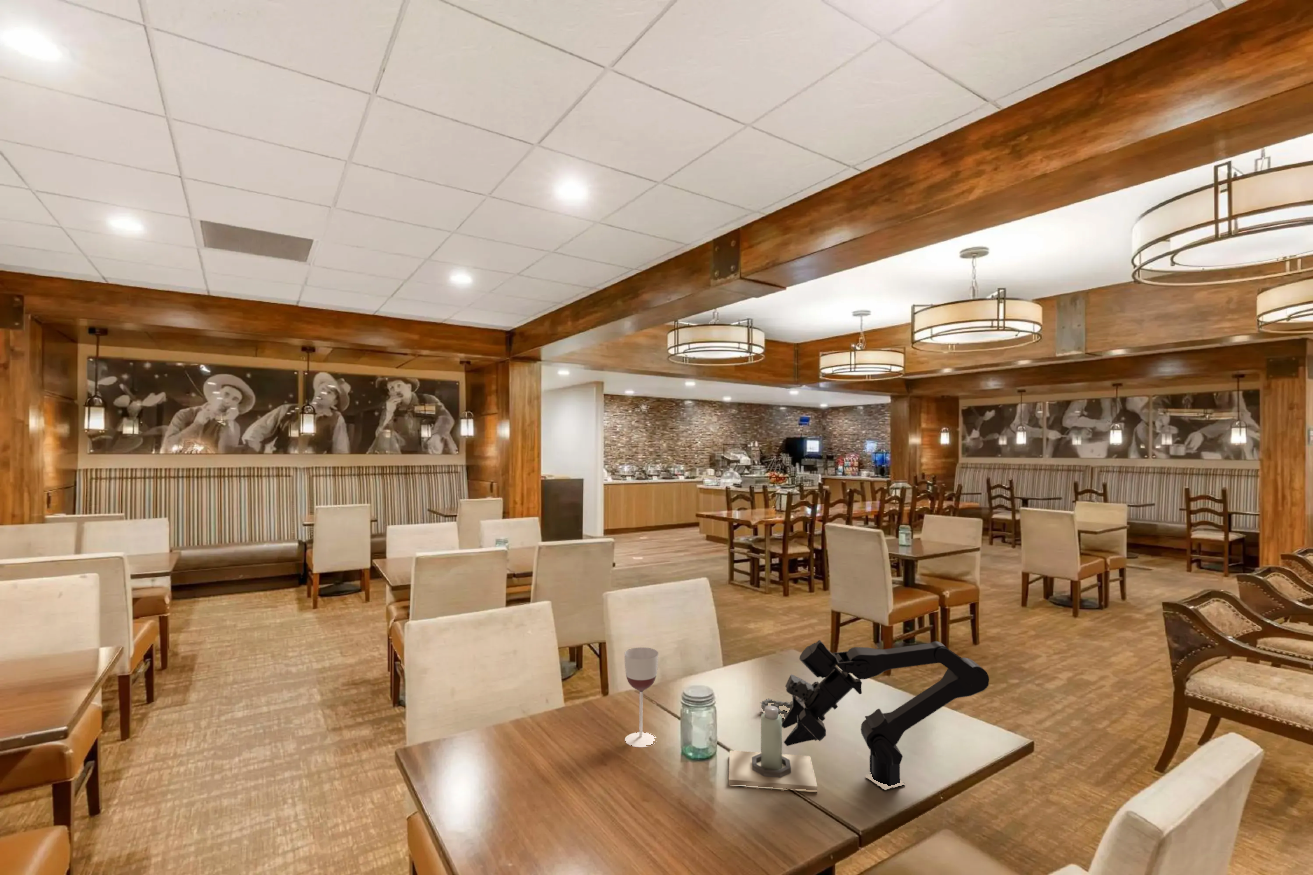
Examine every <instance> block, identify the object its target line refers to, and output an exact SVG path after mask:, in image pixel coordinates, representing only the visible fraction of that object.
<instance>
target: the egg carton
mask: <svg viewBox="0 0 1313 875" xmlns="http://www.w3.org/2000/svg"><path fill="white" fill-rule="evenodd" d="M759 703H760V704H761V705H760V706H761V708H762V709H763V711H765V707H766V706H768V703H774V704H771V706H775V707H777V708H778V714H780V713H781V714H784V717H786V715H787V714H788V713H787V712H786V711H781V710H780V709H779V706H783V705H784V706H786V707H787V708H791V707H792V704H793V700H790V702H788V701H787V700H786V701H782V700H773V699H771V698H766V699H764V700H762V701H761V702H759Z"/></svg>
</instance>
